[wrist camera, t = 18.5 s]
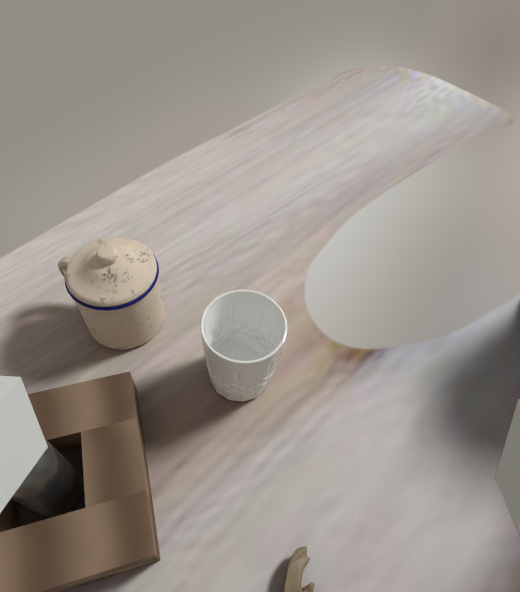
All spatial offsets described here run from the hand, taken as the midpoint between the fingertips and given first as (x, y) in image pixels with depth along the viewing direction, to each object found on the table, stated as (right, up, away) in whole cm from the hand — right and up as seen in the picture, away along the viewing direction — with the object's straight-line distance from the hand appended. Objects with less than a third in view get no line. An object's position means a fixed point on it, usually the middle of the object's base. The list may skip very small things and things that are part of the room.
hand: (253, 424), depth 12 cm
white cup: (-2, -5, +36) cm, 36 cm away
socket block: (-18, -14, +27) cm, 36 cm away
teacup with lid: (-17, +1, +39) cm, 42 cm away
